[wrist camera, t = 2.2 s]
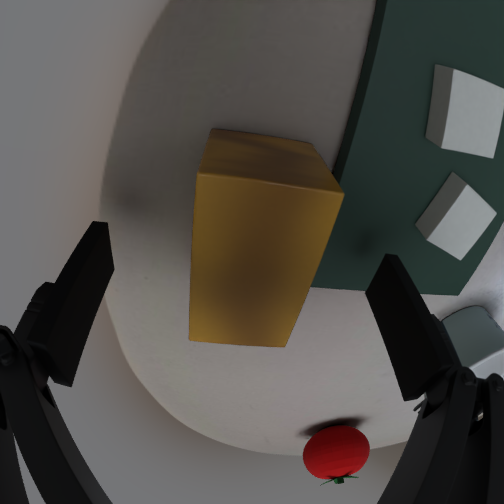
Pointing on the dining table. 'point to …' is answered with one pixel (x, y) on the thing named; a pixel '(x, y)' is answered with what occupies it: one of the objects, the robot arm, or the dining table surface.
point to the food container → (476, 341)
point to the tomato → (336, 453)
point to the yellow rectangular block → (257, 236)
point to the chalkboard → (412, 145)
